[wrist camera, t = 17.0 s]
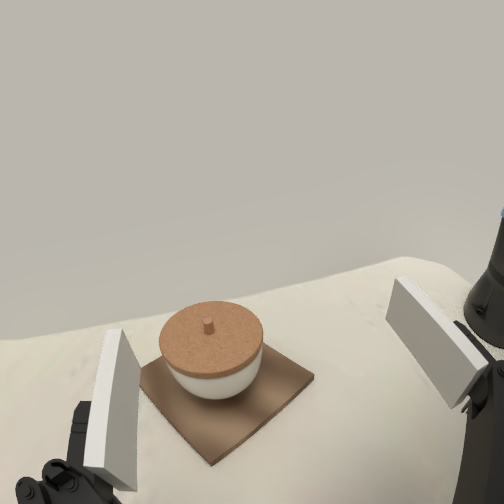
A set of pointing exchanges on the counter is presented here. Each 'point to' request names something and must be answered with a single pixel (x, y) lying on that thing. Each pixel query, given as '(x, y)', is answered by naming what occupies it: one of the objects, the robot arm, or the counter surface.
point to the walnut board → (225, 403)
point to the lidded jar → (213, 348)
